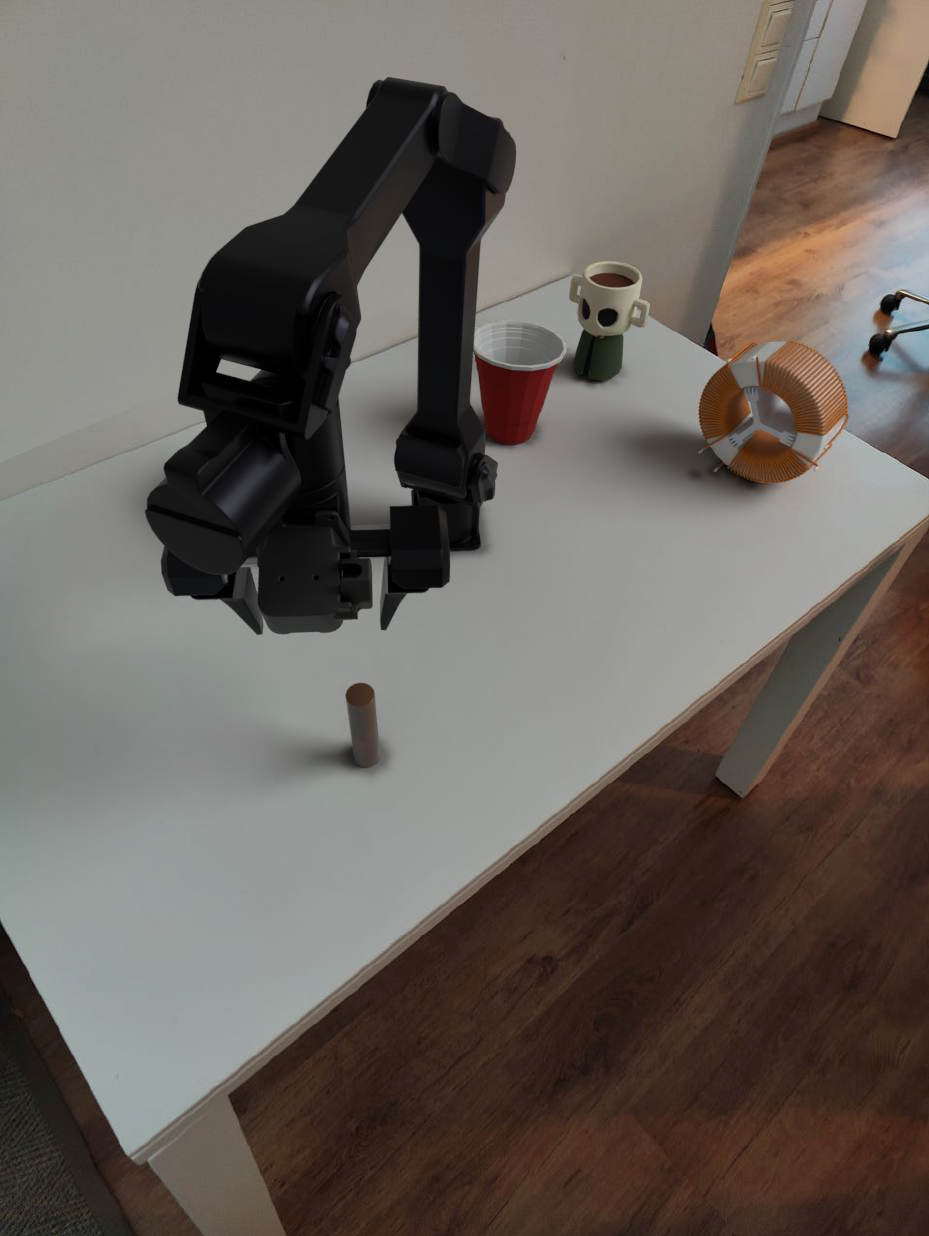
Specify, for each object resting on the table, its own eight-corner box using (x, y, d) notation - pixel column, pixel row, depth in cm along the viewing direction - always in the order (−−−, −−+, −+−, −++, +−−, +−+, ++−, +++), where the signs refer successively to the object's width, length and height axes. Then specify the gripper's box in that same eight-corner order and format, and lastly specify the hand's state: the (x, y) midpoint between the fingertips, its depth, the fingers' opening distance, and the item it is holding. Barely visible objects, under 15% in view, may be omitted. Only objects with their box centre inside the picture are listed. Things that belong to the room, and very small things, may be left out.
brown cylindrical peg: (379, 744, 70) (374, 681, 63) (380, 766, 68) (375, 705, 61) (353, 745, 70) (345, 683, 63) (354, 768, 68) (345, 707, 61)
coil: (709, 428, 100) (744, 315, 89) (823, 483, 94) (877, 369, 83) (679, 454, 97) (712, 340, 85) (796, 513, 90) (848, 398, 79)
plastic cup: (571, 422, 100) (585, 333, 91) (527, 469, 94) (537, 378, 85) (495, 393, 104) (501, 303, 95) (448, 436, 98) (450, 345, 88)
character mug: (546, 367, 108) (558, 271, 98) (575, 344, 112) (589, 249, 102) (619, 398, 104) (638, 301, 94) (646, 373, 108) (667, 277, 98)
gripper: (114, 561, 44) (179, 723, 56) (459, 551, 46) (452, 711, 57) (150, 435, 52) (201, 602, 63) (446, 430, 53) (443, 594, 65)
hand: (322, 628), depth 62 cm, fingers open, 9 cm apart
